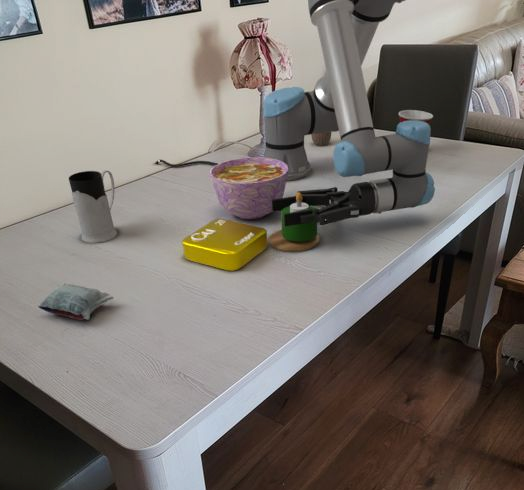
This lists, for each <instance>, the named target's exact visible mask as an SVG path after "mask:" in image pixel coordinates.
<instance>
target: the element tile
mask: <svg viewBox="0 0 524 490" xmlns="http://www.w3.org/2000/svg"><path fill="white" fill-rule="evenodd" d="M181 243H182V251H183V257H184V259H185V260H187V261H191V262H194V263H198V264H202V265H206V266H209V267H212V268H217V269H219V270H223V271H228V272H233V271H238V270H239V269H241V268H243V267H244V266H245V265H246V264H248V263H249V262H250V261H251V260H253V259H254V258H256V257H257V256H258V255H259V254H260V253H262V252H264V250H266V249H267V247H268V231H267V229H266V228H265V227H263V226H257V225H252V224H248V223H243V222H238V221H233V220H230V219H224V218H216V219H214V220H212V221H210V222H208V223H207V224H206V225H204V226H202V227H200V228H198V229H197V230H195V231H194V232H192V233H191V234H189V235H188V236H186V237H184V238H183V239H182V241H181Z"/></svg>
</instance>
